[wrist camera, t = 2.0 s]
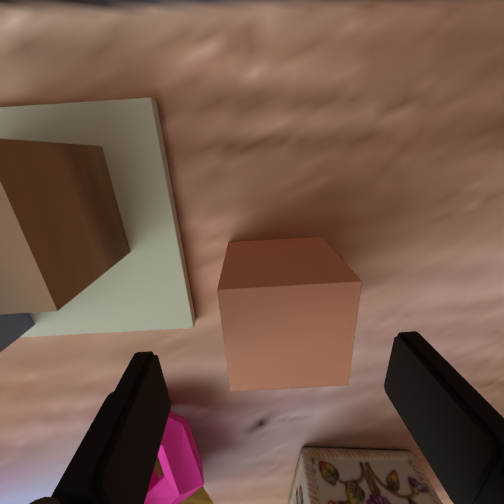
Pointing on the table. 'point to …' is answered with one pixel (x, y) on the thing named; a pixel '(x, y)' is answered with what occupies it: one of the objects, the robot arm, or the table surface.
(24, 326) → the blue-gray block
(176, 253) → the board
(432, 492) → the decorative jar
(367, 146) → the table surface
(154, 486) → the toy
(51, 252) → the walnut block
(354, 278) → the terracotta block
